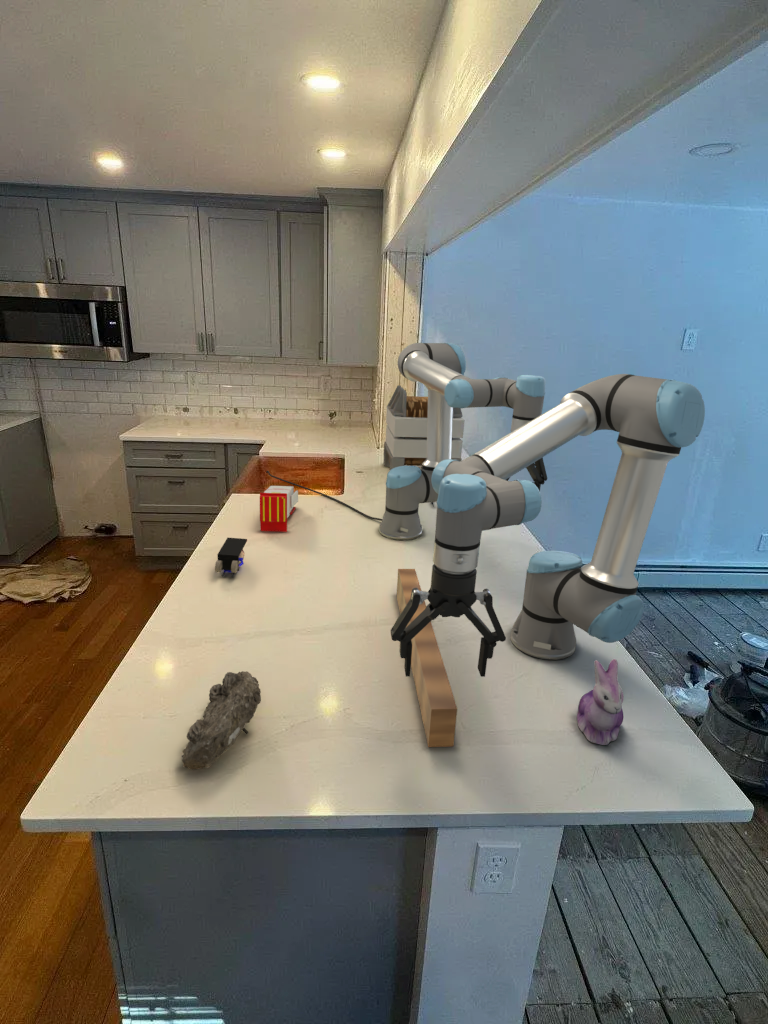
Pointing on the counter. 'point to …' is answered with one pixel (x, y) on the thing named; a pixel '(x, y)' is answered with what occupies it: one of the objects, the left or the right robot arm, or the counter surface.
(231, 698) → the fossil
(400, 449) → the grey tall slatted box
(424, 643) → the post
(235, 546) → the figurine character
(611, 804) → the counter surface
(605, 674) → the figurine
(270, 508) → the toy
